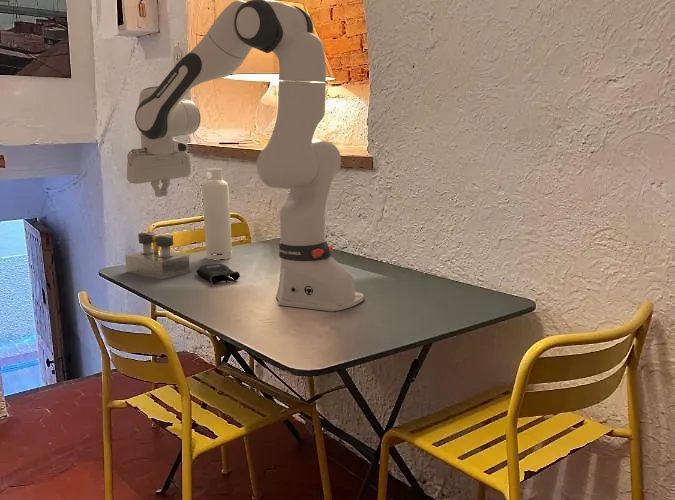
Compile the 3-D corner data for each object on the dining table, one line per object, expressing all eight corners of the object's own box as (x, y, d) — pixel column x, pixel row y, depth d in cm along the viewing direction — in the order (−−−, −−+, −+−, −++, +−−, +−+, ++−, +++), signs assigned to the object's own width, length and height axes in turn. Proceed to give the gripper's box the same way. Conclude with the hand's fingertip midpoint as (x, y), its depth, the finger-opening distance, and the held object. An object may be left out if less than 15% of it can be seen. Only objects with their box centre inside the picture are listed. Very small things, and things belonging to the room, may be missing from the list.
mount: (190, 271, 201) (188, 255, 200) (163, 279, 193) (161, 262, 192) (153, 265, 210) (152, 249, 209) (126, 272, 202) (125, 255, 201)
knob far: (159, 256, 204) (157, 232, 202) (147, 259, 200) (145, 234, 198) (149, 254, 206) (147, 230, 205) (136, 257, 203) (134, 233, 201)
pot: (162, 254, 201) (161, 236, 200) (156, 255, 199) (155, 237, 198) (157, 253, 202) (155, 235, 201) (151, 254, 200) (149, 236, 199)
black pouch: (243, 286, 192) (223, 267, 204) (241, 268, 189) (220, 250, 201) (211, 295, 188) (193, 276, 200) (209, 277, 185) (190, 258, 197)
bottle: (201, 257, 219) (195, 169, 213) (223, 253, 224) (218, 166, 218) (215, 261, 213) (210, 170, 207) (237, 257, 219) (232, 168, 212)
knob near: (178, 259, 199) (176, 234, 197) (165, 262, 195) (163, 237, 194) (167, 257, 202) (165, 233, 200) (154, 261, 198) (152, 236, 196)
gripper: (134, 149, 181) (138, 202, 185) (192, 144, 198) (195, 192, 201) (119, 149, 185) (123, 200, 188) (177, 143, 201) (180, 191, 204)
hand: (161, 196), depth 195 cm, fingers closed
